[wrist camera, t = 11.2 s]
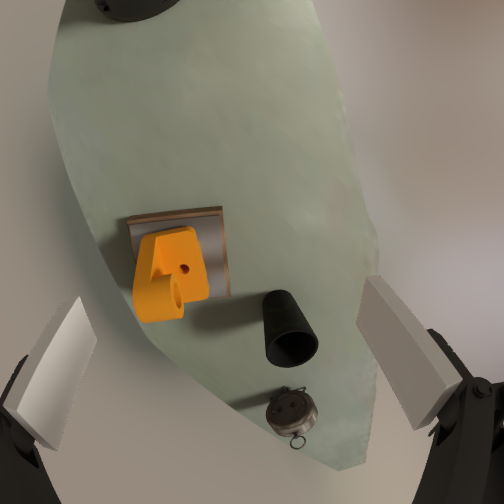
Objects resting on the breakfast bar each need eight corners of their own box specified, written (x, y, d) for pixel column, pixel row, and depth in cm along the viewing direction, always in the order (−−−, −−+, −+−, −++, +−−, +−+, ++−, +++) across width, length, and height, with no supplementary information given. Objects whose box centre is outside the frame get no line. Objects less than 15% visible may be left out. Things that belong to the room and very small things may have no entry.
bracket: (210, 288, 43) (208, 341, 32) (166, 296, 43) (152, 348, 32) (194, 222, 38) (184, 261, 28) (146, 232, 38) (120, 273, 27)
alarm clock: (267, 403, 62) (277, 459, 47) (260, 392, 59) (269, 451, 45) (310, 389, 61) (328, 444, 46) (305, 377, 59) (324, 435, 44)
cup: (296, 279, 47) (316, 323, 37) (302, 314, 51) (320, 359, 40) (251, 290, 47) (260, 338, 37) (261, 324, 51) (271, 373, 40)
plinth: (131, 216, 40) (125, 222, 37) (222, 205, 41) (222, 211, 38) (149, 294, 46) (145, 304, 43) (230, 288, 47) (230, 298, 44)
